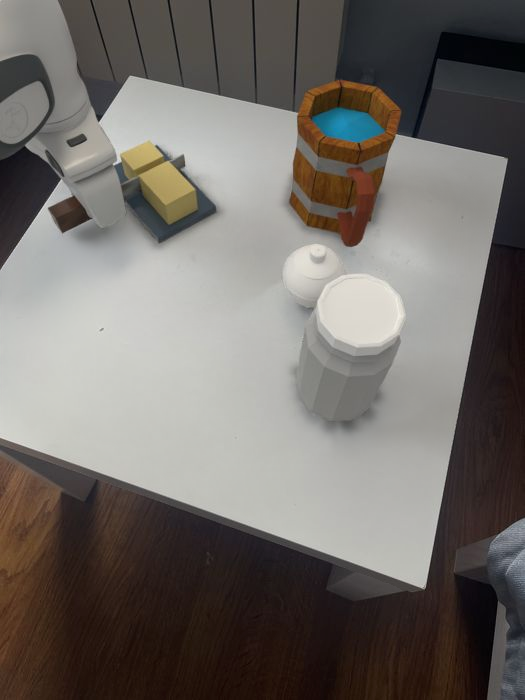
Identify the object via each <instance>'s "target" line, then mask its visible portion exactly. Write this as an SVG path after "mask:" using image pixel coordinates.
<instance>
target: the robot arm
mask: <svg viewBox="0 0 525 700" xmlns="http://www.w3.org/2000/svg"><path fill="white" fill-rule="evenodd" d="M77 64H78V58H77V53H76V49H75V45H74V42H73V39H72V34H71V32H70V29H69V26H68V22H67V20H66V17H65V15H64V12H63V9H62V7H61V4H60V2H59V0H0V161H1V160H4V159H7V158H9V157H12V156H13V155H14V154H16V153H17V152H19V151H20V150H21V149H22V148H24V147H26V149H27V150H29V151H30V153H33V154H35V155H37V156H39V157H40V158H41V160H43V161H45V162H46V163H47V164H48V165H49V166H50V167H51V168H52V170H53V171H54V172H55V173H56V175H57V176H58V177H59V178H60V180H61V181H62V182H63V183H64V185H65V186H66V187H67V188H68V191H69V193H70V195H71V196H75V197H76V198H77V199H78V201H79V202H80V203H81V204H82V206H83V208H84V211H85V212H86V213H87V215H88V216H89V217H90V218H93V219H92V220H93V221H94V222H95V223H96V224H97V226H98V227H99V228H102V229H105V228H108V227H110V226H112V225H114V224H116V223H118V222H120V221H121V220H123V219H124V217H125V216H126V215H127V207H126V204H125V203H124V197H123V193H122V189H121V184H120V181H119V177H118V174H117V172H116V169H115V167H114V165H115V163H117V161H118V156H117V155H118V154H117V151H116V149H115V147H114V145H113V144H112V141H111V140H110V138H109V137H108V136H107V134H106V132H105V131H104V129H103V127H102V126H101V124H100V123H99V120H98V118H97V115H96V112H95V109H94V107H93V106H92V104H91V100H90V95H89V93H88V89H87V87H86V84H85V83H84V81H83V79H82V78H81V76H80V74H79V72H78V65H77Z"/></svg>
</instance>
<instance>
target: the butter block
mask: <svg viewBox="0 0 525 700" xmlns="http://www.w3.org/2000/svg"><path fill="white" fill-rule="evenodd" d="M138 176H139V180H140V185H141V189H142V193H143V196H144V197H145V199H146V200H147V201H148V202H149V203H150V204H151V205H152V206H153V208H154V209H155V210H156V211H157V212H158V213H159V214H160V215H161V217H162V218H163V219H164V220H165V221H166V222H167V223H168V224H169V225H170V224H172V223H174V222H176V221H178V220H179V219H181V218H183V217H185V216H187V215H189V214H191V213H192V212H194V211H196V210H198V206H197V197H196V189H195V188H194V187H193V186H192V185H191V184H190V183H189V182H188V181H187V180H186V179H185V178H184V177H183V176H182V175H181V174H180V172H179V171H178V170H177V169H176V168H175V167H174V166H173V165H172V164H171V163H170V162H169V161H166V162H164V163H162V164H160V165H158V166H156V167H154V168H152V169H150V170H148V171H146V172H144V173H142V174H140V175H138Z"/></svg>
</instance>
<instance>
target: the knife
mask: <svg viewBox="0 0 525 700" xmlns="http://www.w3.org/2000/svg"><path fill="white" fill-rule="evenodd" d="M169 162H170V163H171V164H172V165H173V166H174V167H175V168H176V169H177V170H180V169H181V170H182V169H184V168H186V157H185V154H184V153H182V154H180V155H178V156H175V157H173V158H171V160H169ZM121 189H122V193H123V197H125V196H127V195H129V194H131V193H133V192H135V191H137V190H139V189H141V185H140V180H139V176H136V177H134V178H132V179H130V180H128V181H126V182H124V183H122V184H121ZM124 203H125V199H124ZM47 210H48V212H49V215H50V216H51V218H52V221H53V223H54V224H55V226H56V227H57V228H58V230H59V231H60V233H61V234H64V233H67V232H68V231H70V230H72V229H74V228H76V227H79V226H80V225H82V224H84V223H87V222H89V221H90V220H94V219H93V218H90V217H89V216H88V215H87V213H86V212H85V211H84V208H83V206H82V204H81V203H80V202H79V201H78V199H77V198H76V197H75V196H72V195H71V196H70V197H67V198H65V199H63V200H61V201H59V202H56V203H54V204H53V205H50V206H48V207H47Z"/></svg>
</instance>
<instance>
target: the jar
mask: <svg viewBox="0 0 525 700" xmlns="http://www.w3.org/2000/svg"><path fill="white" fill-rule="evenodd" d="M406 318H407V314H406V309H405V305H404V301H403V298H402V296H401V295H400V294H399V293H398V292H397V290H396V289H394V288H393V287H392V286H391V284H390V283H389V282H387V280H384V279H381V278H378V277H375V276H373V275H370V274H368V273H351V274H348V273H347V274H346V275H342V276H340V277H339V278H337V279H335V280H333V281H332V282H330V283H328V284H327V285H326V286H325V288H324V289H323V291H322V293H321V295H320V297H319V299H318V301H317V306H316V307H313V310H312V311H311V314H310V316H309V318H308V320H307V321H306V324H305V326H304V331H303V332H304V333H303V337H302V341H301V347H300V351H299V352H300V353H299V358H298V364H297V368H296V374H295V381H296V390H297V397H298V398H299V400H301V402H302V403H303V404H304V406H305V407H306V408H307V410H308V411H309V412H310V413H311V414H313V415H315V416H317V417H320V418H322V419H324V420H327V421H329V422H343V421H353V420H354V419H356V418H358V417H359V416H361V415H363V413H364V412H365V413H366V411H367V410H369V409H370V408H371V406H372V404H373V402H374V400H375V398H376V396H377V394H378V392H379V390H380V388H381V386H382V385H383V383H384V381H385V379H386V377H387V375H388V374H389V372H390V369H391V367H392V365H393V363H394V361H395V359H396V356H397V353H398V351H399V349H400V347H401V344H402V340H401V336H400V333H401V331H402V328H403V325H404V323H405V321H406Z"/></svg>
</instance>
